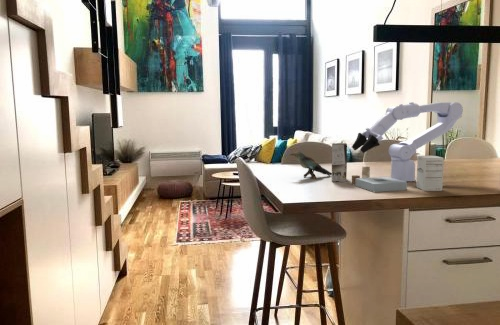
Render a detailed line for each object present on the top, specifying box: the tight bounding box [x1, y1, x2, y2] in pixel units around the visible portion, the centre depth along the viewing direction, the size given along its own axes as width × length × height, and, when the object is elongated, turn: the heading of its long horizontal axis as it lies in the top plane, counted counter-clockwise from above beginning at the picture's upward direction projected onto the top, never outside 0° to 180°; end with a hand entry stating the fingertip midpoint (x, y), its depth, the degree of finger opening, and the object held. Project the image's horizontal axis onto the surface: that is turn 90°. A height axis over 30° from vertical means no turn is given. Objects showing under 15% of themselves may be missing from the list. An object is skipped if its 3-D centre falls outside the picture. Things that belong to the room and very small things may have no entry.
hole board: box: [354, 176, 408, 193], centre depth 164 cm, size 14×14×3 cm
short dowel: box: [351, 174, 361, 185], centre depth 173 cm, size 3×3×4 cm
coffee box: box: [331, 142, 348, 183], centre depth 183 cm, size 9×6×16 cm
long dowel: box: [361, 165, 371, 178], centre depth 179 cm, size 3×3×6 cm
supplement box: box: [415, 155, 445, 192], centre depth 160 cm, size 7×7×13 cm
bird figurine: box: [289, 150, 332, 180], centre depth 192 cm, size 13×10×20 cm
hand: (357, 149), depth 176 cm, fingers open, 7 cm apart
